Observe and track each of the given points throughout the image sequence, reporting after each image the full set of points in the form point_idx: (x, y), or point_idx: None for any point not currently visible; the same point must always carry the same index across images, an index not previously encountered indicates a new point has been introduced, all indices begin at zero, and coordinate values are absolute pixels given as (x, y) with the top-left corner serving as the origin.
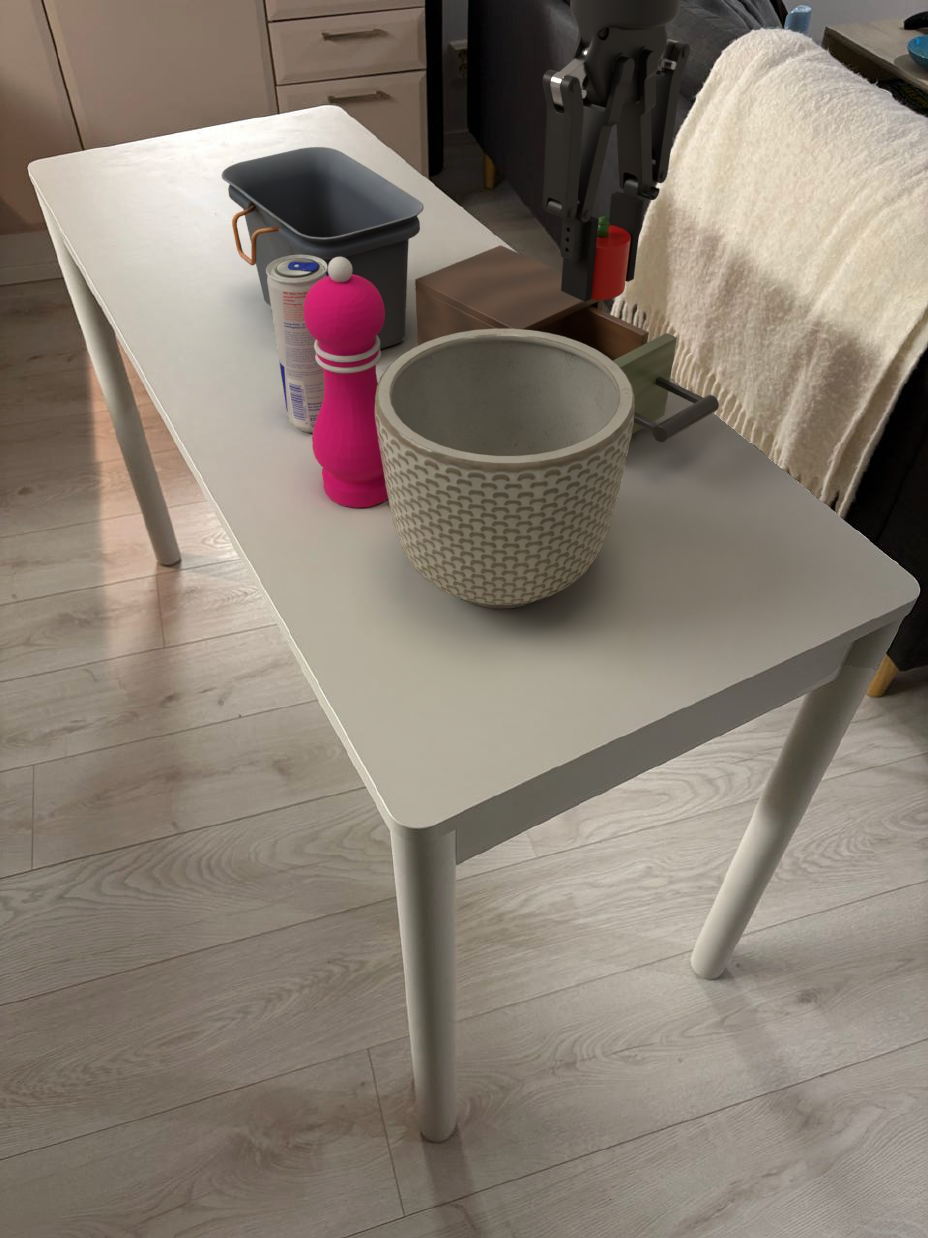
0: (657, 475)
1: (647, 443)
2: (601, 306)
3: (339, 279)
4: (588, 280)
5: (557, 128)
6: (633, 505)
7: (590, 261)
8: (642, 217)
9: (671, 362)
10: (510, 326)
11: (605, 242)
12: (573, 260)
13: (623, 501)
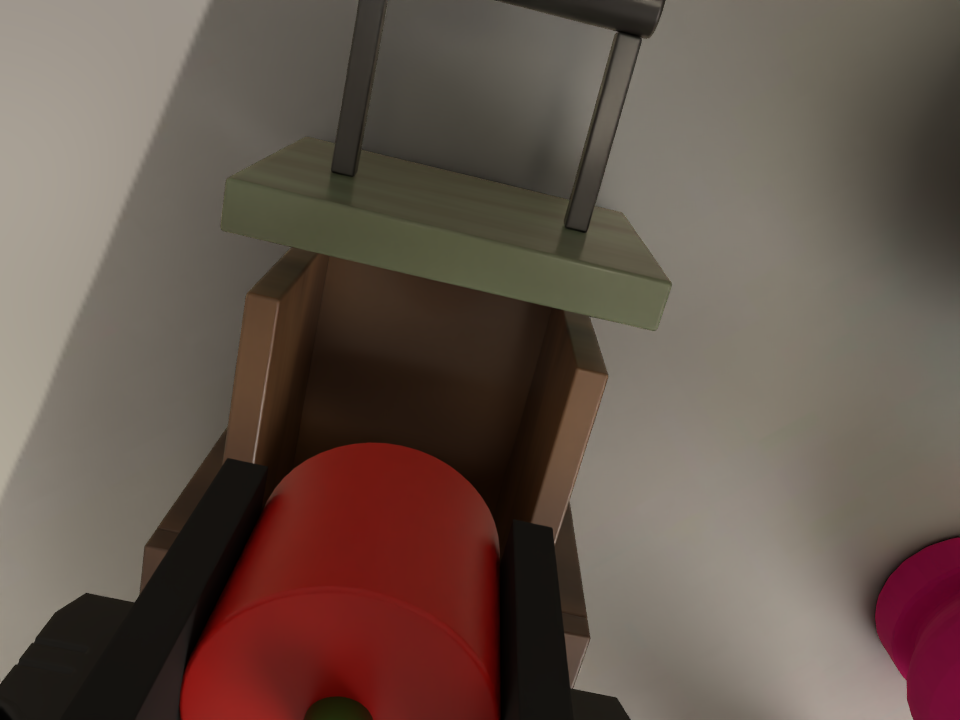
0: (561, 23)
1: (429, 125)
2: (176, 515)
3: None
4: (546, 582)
5: None
6: (732, 14)
7: (552, 645)
8: (34, 653)
9: (266, 164)
10: (576, 669)
11: (412, 675)
12: (621, 709)
13: (727, 49)
